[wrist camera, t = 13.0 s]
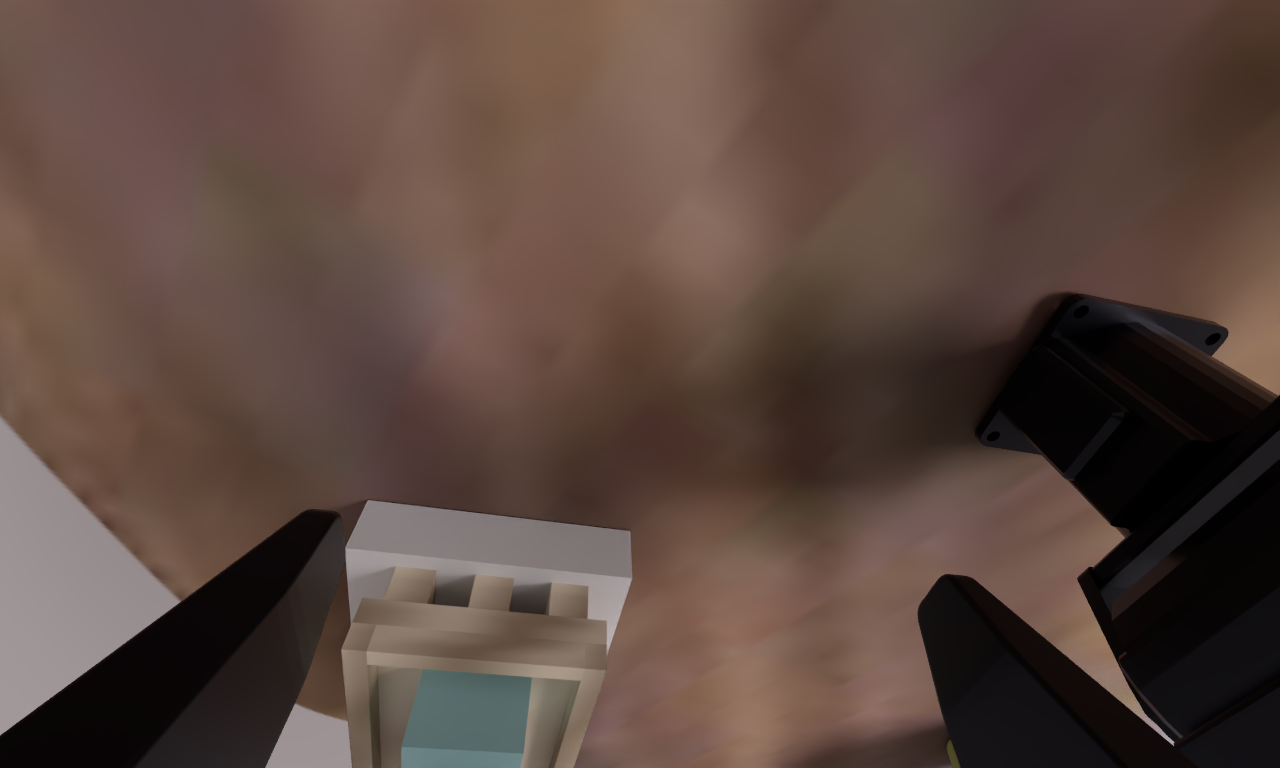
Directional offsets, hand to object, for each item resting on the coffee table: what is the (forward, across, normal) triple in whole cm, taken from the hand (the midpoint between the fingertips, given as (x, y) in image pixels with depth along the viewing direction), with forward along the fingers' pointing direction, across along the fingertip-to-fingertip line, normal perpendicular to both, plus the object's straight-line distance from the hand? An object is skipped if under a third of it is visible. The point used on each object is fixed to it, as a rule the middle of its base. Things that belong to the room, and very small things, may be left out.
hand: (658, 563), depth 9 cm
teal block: (+7, +3, +16) cm, 18 cm away
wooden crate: (+10, +3, +20) cm, 22 cm away
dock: (+12, +3, +20) cm, 23 cm away
